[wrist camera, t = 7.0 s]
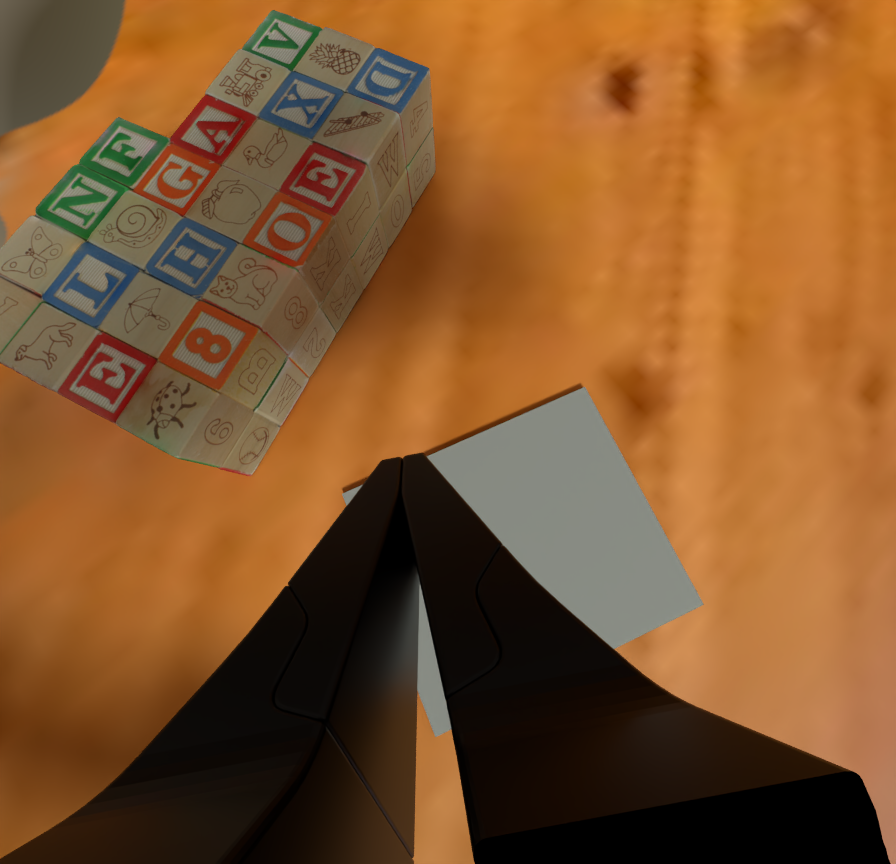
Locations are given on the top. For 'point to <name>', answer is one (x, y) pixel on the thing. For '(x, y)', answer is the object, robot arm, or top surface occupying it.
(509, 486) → the grey rubber mat
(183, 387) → the stack of blocks
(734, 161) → the top surface
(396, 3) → the top surface
